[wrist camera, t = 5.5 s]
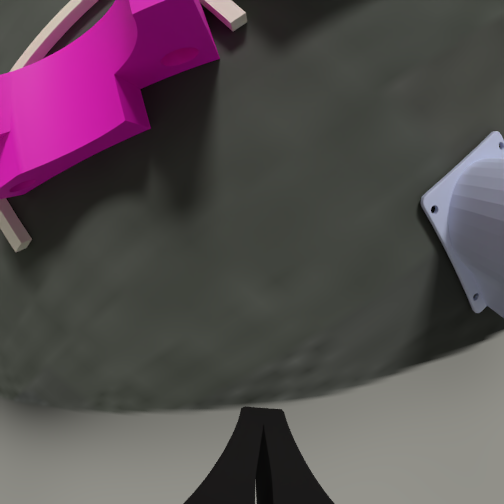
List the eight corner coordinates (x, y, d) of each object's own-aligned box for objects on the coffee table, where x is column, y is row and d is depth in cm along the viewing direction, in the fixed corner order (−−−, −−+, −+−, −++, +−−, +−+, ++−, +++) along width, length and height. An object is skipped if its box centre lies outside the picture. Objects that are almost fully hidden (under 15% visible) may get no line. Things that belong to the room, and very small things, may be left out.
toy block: (25, 194, 17) (-57, 212, 9) (10, 114, 15) (-68, 109, 8) (233, 99, 15) (208, 47, 8) (203, 9, 14) (168, -67, 6)
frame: (247, 22, 13) (245, 12, 12) (26, 248, 17) (15, 252, 16) (151, -51, 12) (145, -60, 11) (-28, 153, 16) (-38, 153, 15)
